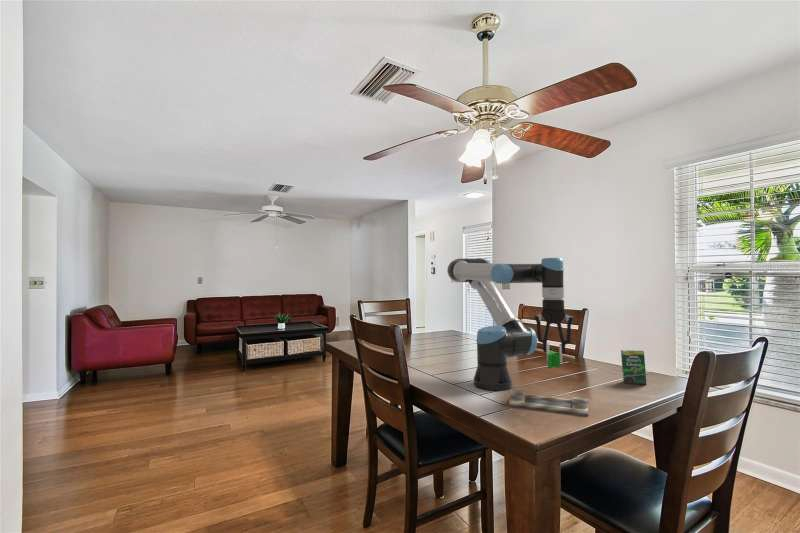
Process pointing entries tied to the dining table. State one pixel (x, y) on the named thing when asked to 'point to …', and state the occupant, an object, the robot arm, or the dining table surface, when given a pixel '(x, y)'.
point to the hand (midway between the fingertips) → (554, 361)
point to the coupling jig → (549, 403)
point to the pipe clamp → (553, 359)
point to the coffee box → (633, 367)
